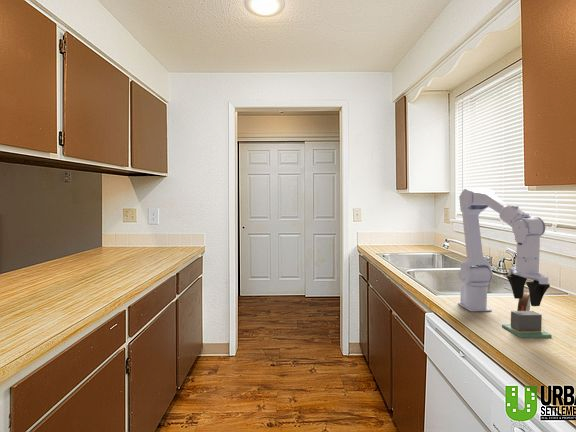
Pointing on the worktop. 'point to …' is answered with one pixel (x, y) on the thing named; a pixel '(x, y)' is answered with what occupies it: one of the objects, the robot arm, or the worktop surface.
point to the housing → (526, 321)
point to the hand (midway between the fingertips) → (526, 302)
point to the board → (527, 333)
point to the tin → (524, 302)
